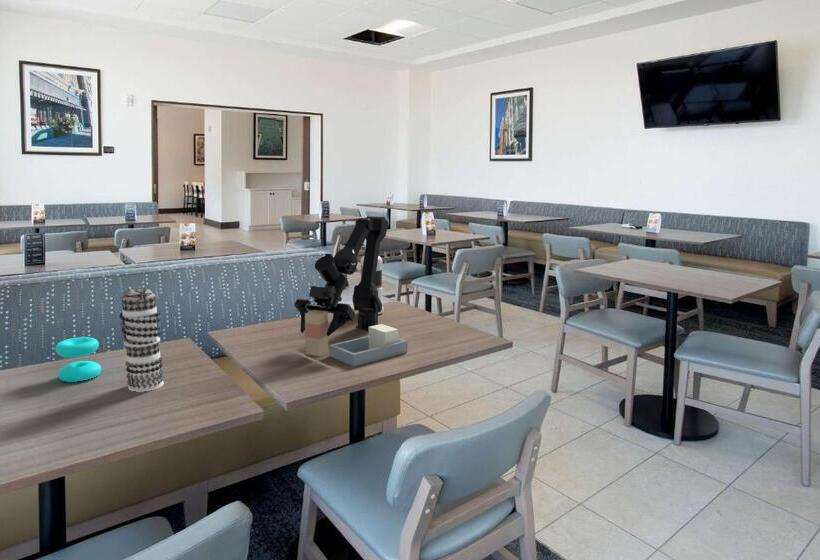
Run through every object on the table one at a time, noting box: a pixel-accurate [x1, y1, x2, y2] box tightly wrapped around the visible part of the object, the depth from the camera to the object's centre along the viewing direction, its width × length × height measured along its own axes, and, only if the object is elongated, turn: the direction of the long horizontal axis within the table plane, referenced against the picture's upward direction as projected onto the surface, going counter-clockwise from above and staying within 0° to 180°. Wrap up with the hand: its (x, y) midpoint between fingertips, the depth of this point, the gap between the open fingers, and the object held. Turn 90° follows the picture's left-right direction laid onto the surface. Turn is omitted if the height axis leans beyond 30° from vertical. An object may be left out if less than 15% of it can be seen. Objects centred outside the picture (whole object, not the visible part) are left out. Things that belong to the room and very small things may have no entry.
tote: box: [328, 335, 408, 367], centre depth 173 cm, size 20×12×4 cm, turn 132°
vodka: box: [359, 255, 385, 316], centre depth 222 cm, size 9×9×30 cm
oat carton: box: [304, 310, 330, 357], centre depth 173 cm, size 5×5×13 cm
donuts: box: [54, 336, 102, 383], centre depth 154 cm, size 10×10×10 cm
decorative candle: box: [118, 287, 165, 393], centre depth 146 cm, size 9×9×25 cm
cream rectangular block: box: [368, 323, 399, 349], centre depth 176 cm, size 5×8×7 cm, turn 42°
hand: (314, 333), depth 172 cm, fingers open, 9 cm apart
